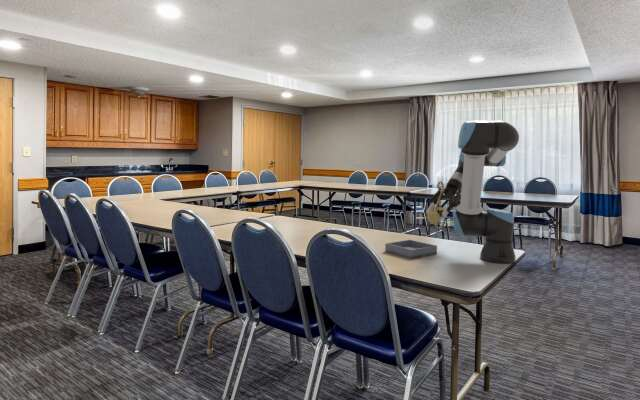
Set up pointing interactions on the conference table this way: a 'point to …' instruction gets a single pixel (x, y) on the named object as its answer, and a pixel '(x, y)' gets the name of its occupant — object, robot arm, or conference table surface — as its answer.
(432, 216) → the wall sconce
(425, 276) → the conference table surface
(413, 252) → the tray
